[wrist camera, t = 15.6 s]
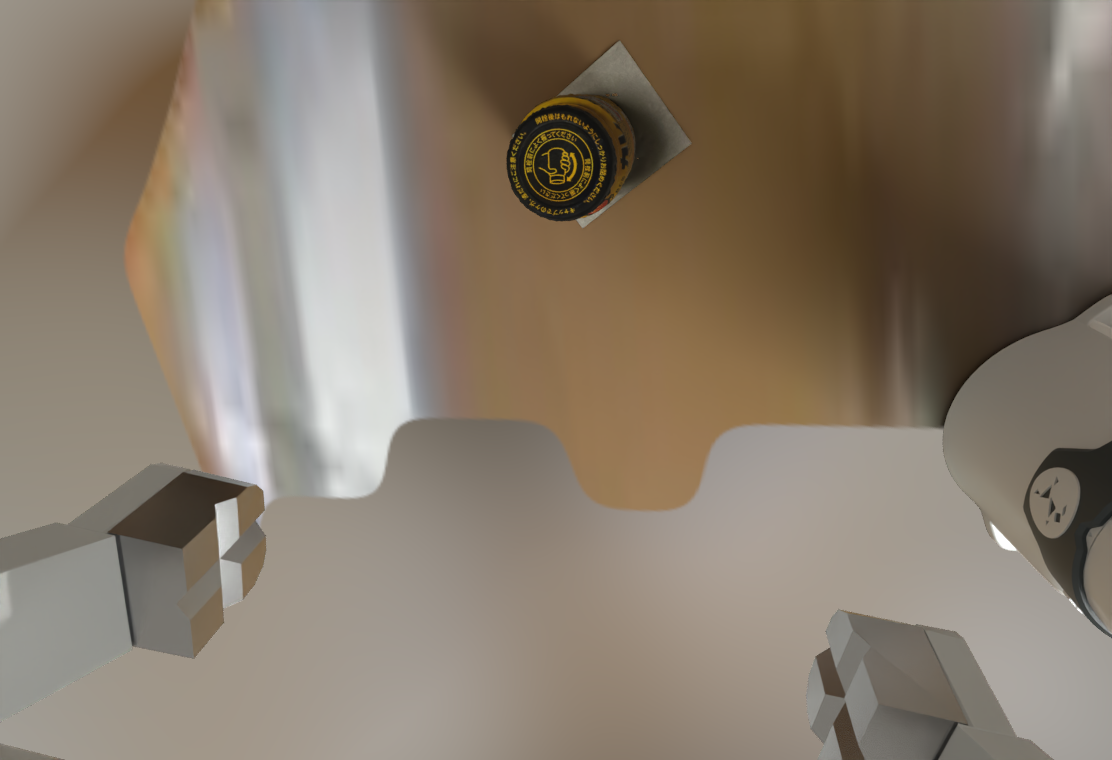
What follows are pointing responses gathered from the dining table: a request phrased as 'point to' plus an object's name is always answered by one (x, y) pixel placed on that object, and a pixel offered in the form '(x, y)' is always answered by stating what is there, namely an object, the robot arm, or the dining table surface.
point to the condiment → (592, 142)
